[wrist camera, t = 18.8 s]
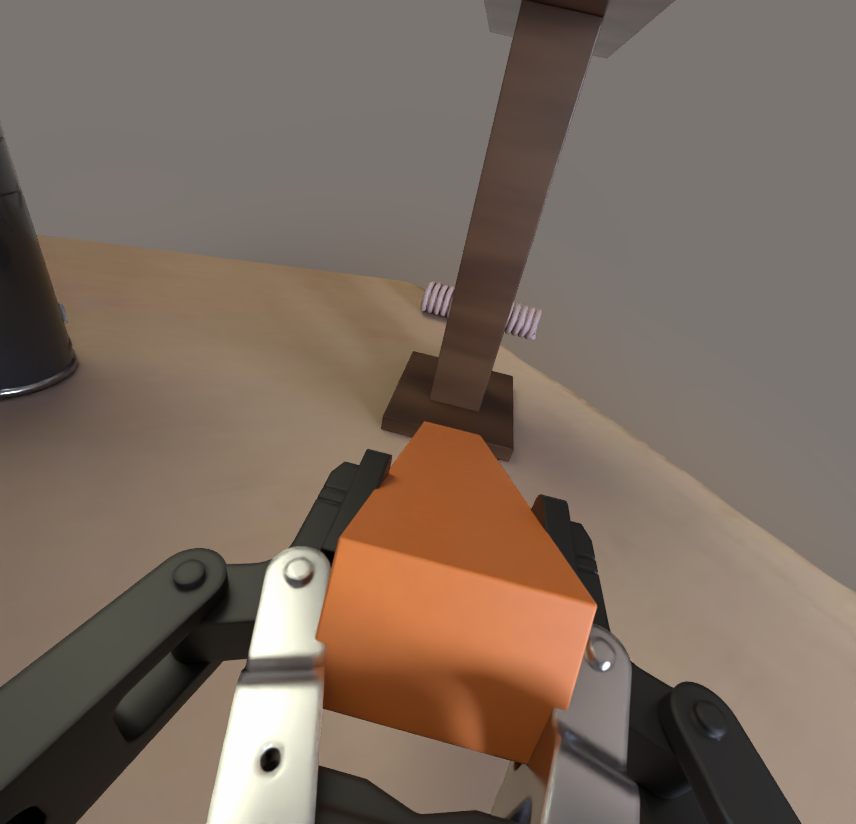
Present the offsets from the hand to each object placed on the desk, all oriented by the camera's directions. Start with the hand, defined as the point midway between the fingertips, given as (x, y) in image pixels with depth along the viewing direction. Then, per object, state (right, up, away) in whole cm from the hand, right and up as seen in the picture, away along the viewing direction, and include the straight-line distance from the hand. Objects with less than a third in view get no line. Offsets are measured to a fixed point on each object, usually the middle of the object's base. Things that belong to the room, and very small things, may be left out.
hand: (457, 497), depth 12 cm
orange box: (0, -2, +7) cm, 8 cm away
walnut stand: (+2, +3, +32) cm, 32 cm away
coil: (+7, +16, +52) cm, 54 cm away
